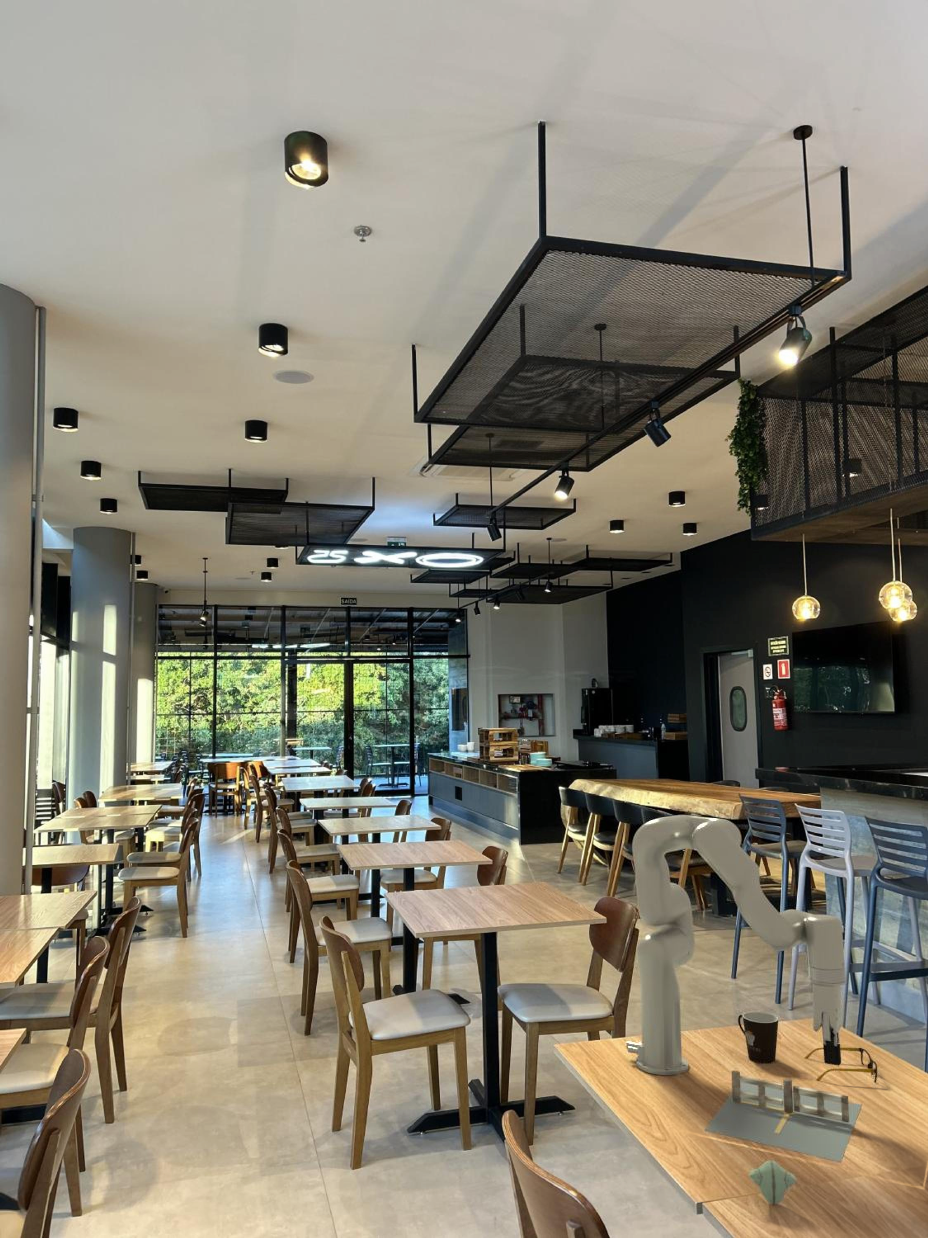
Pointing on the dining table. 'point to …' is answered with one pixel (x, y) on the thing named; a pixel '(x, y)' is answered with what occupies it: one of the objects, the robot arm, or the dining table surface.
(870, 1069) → the eyeglasses
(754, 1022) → the coffee mug
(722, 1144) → the dining table surface
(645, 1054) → the robot arm
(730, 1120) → the card
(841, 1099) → the fence gate
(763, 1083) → the fence section
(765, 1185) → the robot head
